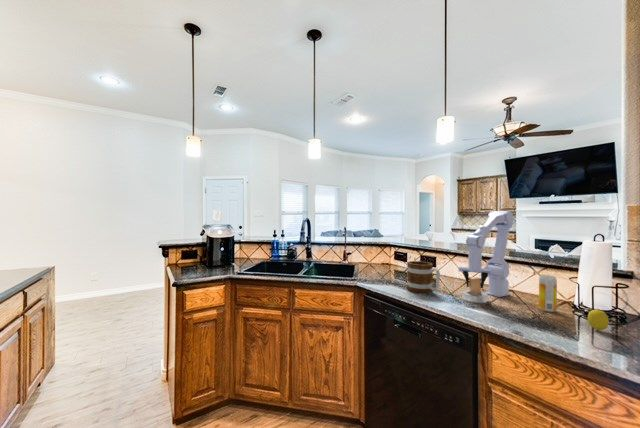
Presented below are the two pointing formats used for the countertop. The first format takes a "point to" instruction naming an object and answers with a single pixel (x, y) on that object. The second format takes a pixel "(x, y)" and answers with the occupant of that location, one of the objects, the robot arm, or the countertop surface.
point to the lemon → (598, 319)
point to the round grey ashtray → (474, 297)
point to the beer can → (547, 293)
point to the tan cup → (475, 285)
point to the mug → (421, 277)
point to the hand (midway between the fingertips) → (474, 287)
